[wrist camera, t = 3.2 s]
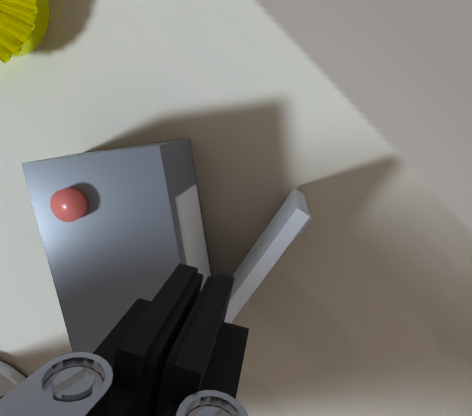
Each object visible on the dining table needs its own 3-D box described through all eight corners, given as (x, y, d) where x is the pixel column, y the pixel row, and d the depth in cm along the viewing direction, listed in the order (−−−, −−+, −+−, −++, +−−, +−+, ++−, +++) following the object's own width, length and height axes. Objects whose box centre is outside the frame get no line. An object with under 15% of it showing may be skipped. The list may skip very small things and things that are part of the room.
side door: (232, 307, 26) (219, 355, 21) (214, 295, 26) (196, 341, 21) (311, 199, 23) (319, 222, 18) (291, 185, 23) (293, 205, 18)
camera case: (220, 313, 27) (199, 375, 20) (120, 318, 28) (71, 377, 22) (192, 138, 24) (158, 145, 17) (81, 152, 25) (11, 165, 19)
